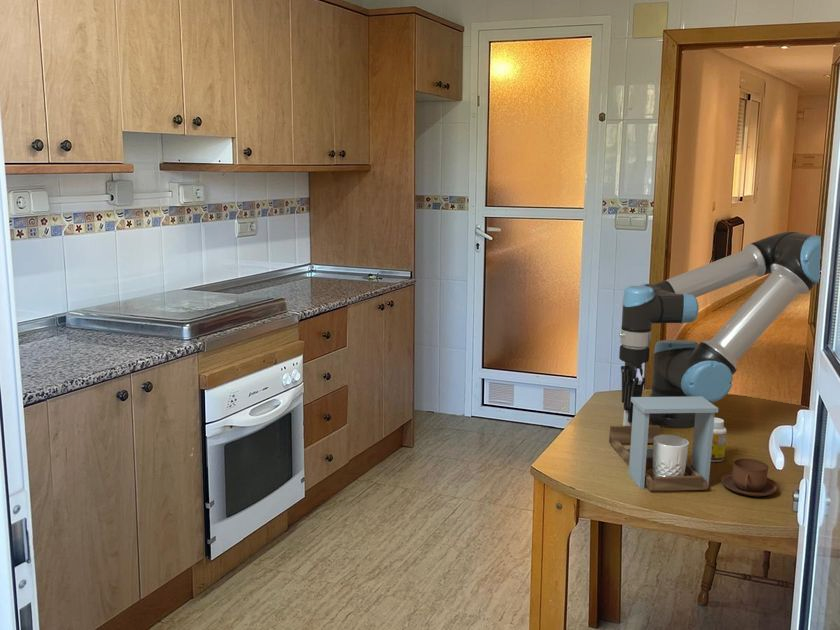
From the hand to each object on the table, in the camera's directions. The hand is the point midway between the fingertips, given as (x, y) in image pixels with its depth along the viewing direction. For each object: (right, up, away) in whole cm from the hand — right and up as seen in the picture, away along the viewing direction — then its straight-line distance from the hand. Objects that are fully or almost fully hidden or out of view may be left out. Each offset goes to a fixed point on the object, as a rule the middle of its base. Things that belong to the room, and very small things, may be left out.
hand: (628, 432), depth 221 cm
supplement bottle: (+18, -5, -13) cm, 22 cm away
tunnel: (+2, -8, -27) cm, 28 cm away
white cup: (+2, -8, -27) cm, 28 cm away
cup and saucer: (+20, -9, -31) cm, 38 cm away
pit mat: (+1, -4, -13) cm, 13 cm away
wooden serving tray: (+2, -5, -19) cm, 19 cm away
